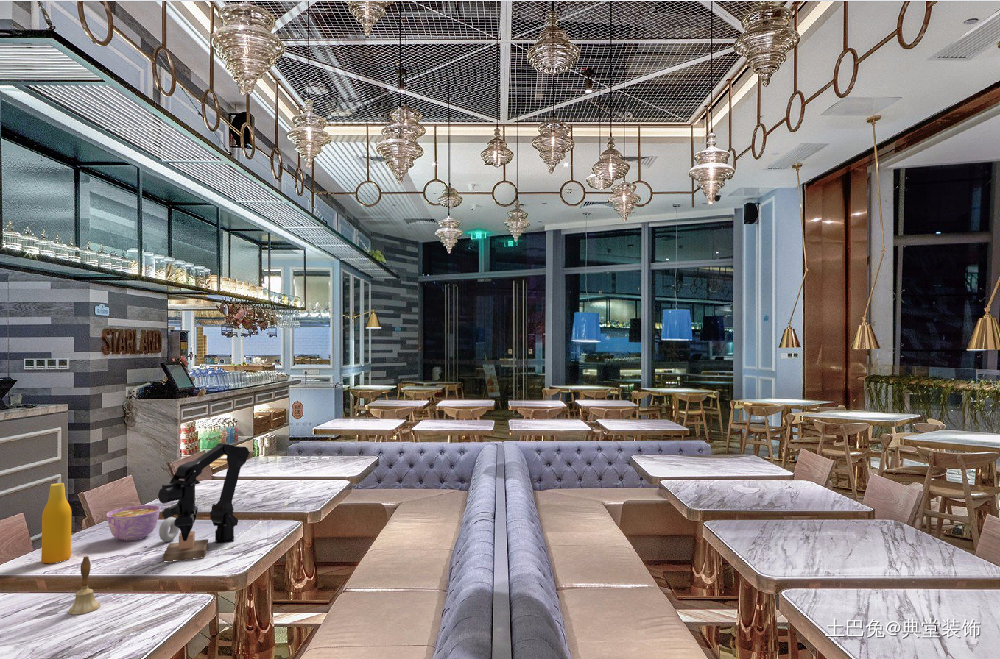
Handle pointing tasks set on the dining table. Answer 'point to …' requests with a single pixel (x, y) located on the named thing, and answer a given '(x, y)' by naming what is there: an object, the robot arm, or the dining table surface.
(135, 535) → the bowl of food
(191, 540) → the terracotta block
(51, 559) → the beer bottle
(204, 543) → the walnut base
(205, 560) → the dining table surface
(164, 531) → the donut
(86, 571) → the hand bell
